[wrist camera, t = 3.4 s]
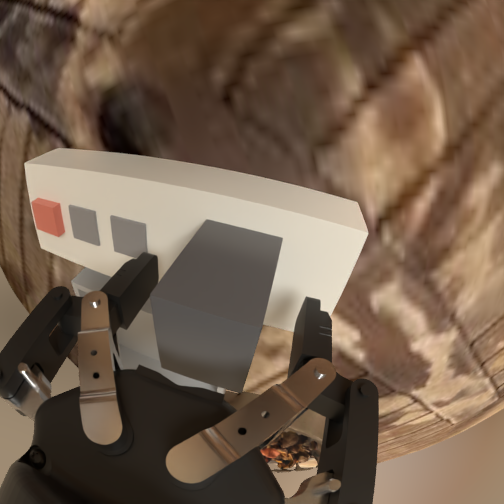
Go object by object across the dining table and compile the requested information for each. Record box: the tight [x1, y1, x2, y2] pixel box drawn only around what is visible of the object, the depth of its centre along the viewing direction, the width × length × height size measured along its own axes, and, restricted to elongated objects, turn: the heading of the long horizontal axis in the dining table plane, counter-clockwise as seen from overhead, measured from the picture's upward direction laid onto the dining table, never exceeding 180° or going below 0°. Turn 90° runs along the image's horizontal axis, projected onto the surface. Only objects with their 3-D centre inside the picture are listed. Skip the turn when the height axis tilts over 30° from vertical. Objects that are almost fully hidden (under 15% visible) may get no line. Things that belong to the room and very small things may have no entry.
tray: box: [71, 267, 226, 394], centre depth 25 cm, size 13×15×4 cm
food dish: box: [224, 391, 326, 473], centre depth 37 cm, size 35×33×8 cm
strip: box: [24, 148, 368, 332], centre depth 17 cm, size 8×24×5 cm, turn 80°
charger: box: [150, 219, 283, 393], centre depth 14 cm, size 5×4×9 cm
